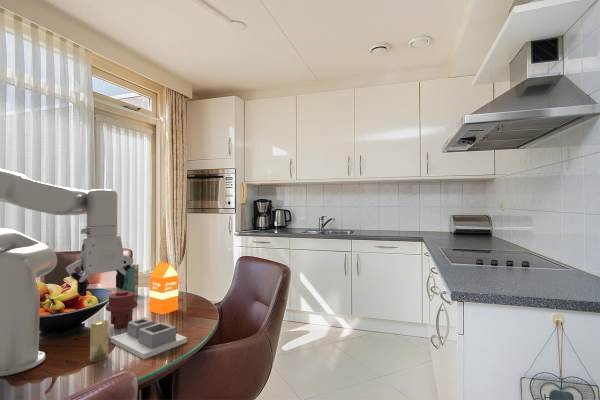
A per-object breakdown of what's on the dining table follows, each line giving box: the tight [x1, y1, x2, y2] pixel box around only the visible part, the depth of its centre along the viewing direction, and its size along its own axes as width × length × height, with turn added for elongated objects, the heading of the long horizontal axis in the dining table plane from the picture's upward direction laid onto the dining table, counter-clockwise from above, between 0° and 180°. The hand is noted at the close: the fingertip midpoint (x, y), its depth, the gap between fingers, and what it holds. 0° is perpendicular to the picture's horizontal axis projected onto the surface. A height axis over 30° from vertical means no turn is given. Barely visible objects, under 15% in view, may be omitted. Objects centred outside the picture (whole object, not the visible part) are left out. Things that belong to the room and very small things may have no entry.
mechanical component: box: [105, 290, 138, 330], centre depth 115 cm, size 12×10×10 cm
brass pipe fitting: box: [89, 319, 110, 363], centre depth 90 cm, size 4×4×10 cm
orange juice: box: [148, 261, 179, 315], centre depth 133 cm, size 8×9×20 cm
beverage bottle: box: [119, 260, 135, 293], centre depth 143 cm, size 6×7×20 cm
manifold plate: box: [110, 317, 188, 360], centre depth 100 cm, size 14×20×6 cm
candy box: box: [115, 263, 139, 297], centre depth 155 cm, size 9×4×15 cm, turn 91°
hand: (101, 291), depth 90 cm, fingers open, 9 cm apart
